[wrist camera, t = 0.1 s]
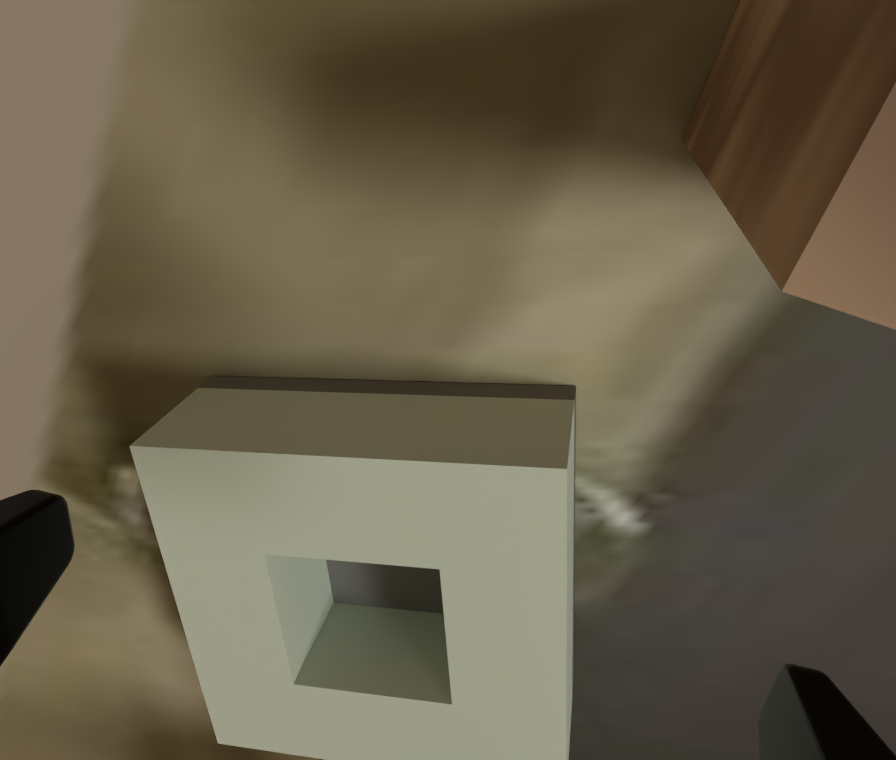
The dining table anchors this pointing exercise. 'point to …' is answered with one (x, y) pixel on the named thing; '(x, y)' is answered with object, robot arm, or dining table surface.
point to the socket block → (373, 563)
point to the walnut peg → (808, 146)
